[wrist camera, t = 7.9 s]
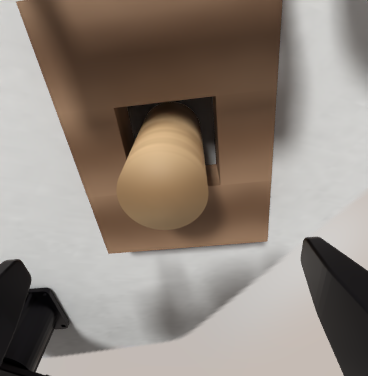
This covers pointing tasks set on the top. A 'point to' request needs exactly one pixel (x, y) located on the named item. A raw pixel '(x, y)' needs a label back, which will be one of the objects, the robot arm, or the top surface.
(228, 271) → the top surface
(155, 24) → the socket block
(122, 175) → the peg
